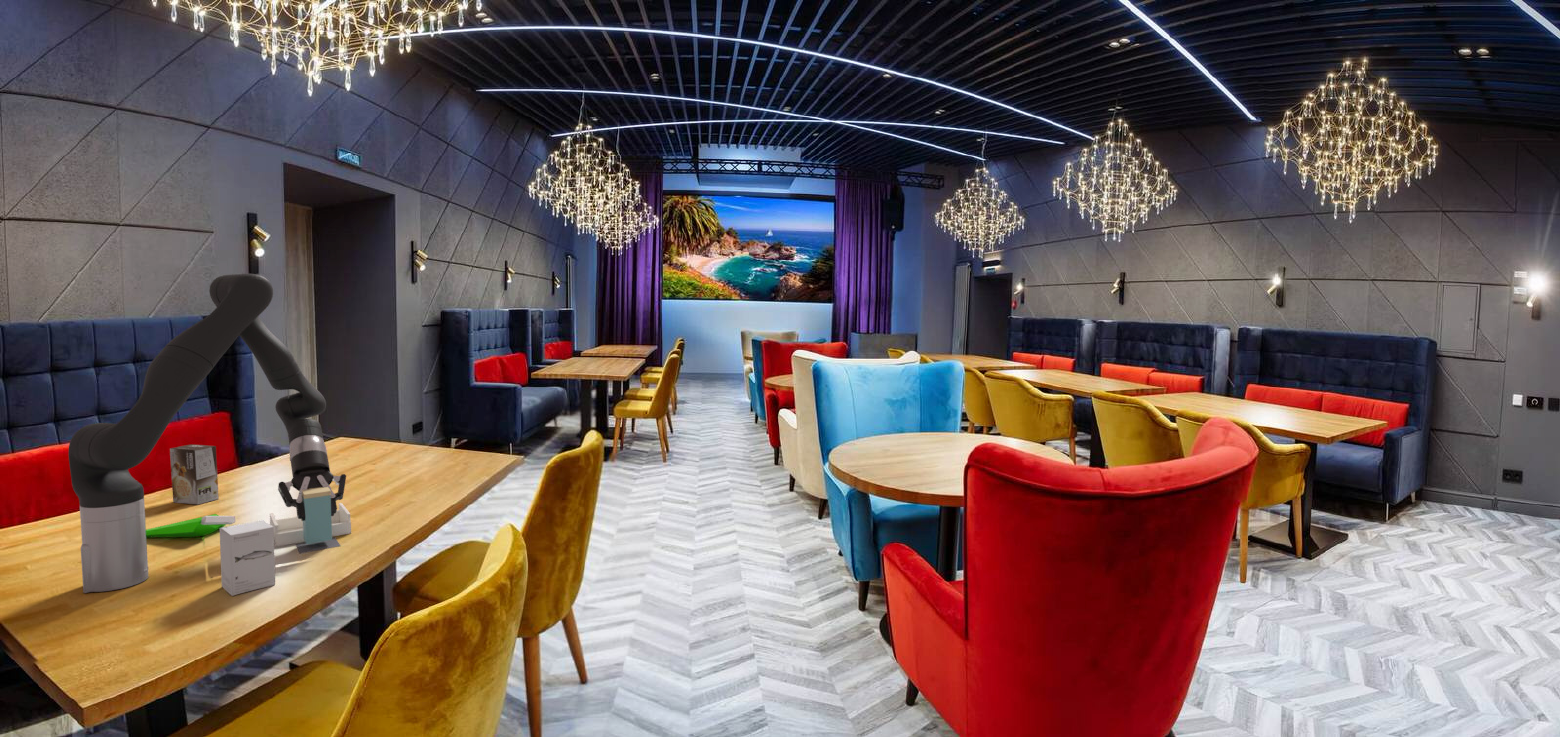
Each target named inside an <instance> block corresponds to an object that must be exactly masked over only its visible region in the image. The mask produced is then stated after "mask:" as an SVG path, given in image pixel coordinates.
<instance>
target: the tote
mask: <svg viewBox="0 0 1560 737" xmlns="http://www.w3.org/2000/svg"><path fill="white" fill-rule="evenodd" d="M269 524H270V525H271V526H273V527H274V546H275V547H281V546H286V545H292V544H298V543H304V542H305V540H304V536H303V521H301V519H298V517H297V516H292V517H291V516H290V517H285V518H278V519H276V517H275V515H274V513H273V512H272V513H271V512H270V513H269ZM331 524H332V537H337V536H344V535H350V534H352V522H351V513H350V511H349V510H348V509H347V507H346V506H345V505H344V504H343V503H342V502H339V503H338V509H337V511H336V513H334V516H331Z"/></svg>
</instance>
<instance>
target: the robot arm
mask: <svg viewBox="0 0 1560 737" xmlns="http://www.w3.org/2000/svg"><path fill="white" fill-rule="evenodd" d="M209 296H210V299H211V301H212V303H213V304H214V306H215V308H214V310H213V311H211V313H210V314H208V315H207V316H205V317H204V318H203V319H201V320H200V321H198V322H197V323H195V324H193V325H191V326H189V327H188V328H186V329H185V330H183V331H182V332H181V333H179V334H177V336H175V337H174V338H172V339H171V340H170V341H168V343H167V344H166V345H165V346H164V347H163V348H162V349H161V350H160V352H158V354H157V355H156V356H155V357H154V359H152V361H151V363H149V365H148V367H147V370H146V372H145V373H146V374H145V378H144V381H143V387H142V392H141V395H140V396H139V398H138V400H137V401H136V403H135V404H134V405H133V406H132V407H131V408H130V410H129V411H128V412H127V413H126V414H125V415H124V416H123V417H122V418H121V419H120V420H119V421H118V422H117V423H111V422H108V423H107V422H97V423H96V422H95V423H90V424H88V425H87V424H86V425H84V426H82V427H81V428H79V429H77V430H76V432H75V433H74V434H73V435H72V437H71V439H70V441H69V445H68V452H67V453H68V464H69V472H70V478H71V486H72V489H73V492H74V493H75V495H76V496H77V497H78V502H79V515H80V517H79V518H80V531H81V533H80V534H81V545H80V557H81V558H80V559H81V573H82V574H81V575H82V578H81V579H82V591H83V594H86V593H87V594H88V593H93V592H94V593H98V592H99V593H100V592H101V593H102V592H109V591H114V590H115V591H116V590H120V589H126V588H128V587H133V586H135V585H138V584H141V583H144V582H145V581H146V580H147V579H149V563H148V562H149V561H148V544H147V537H146V529H147V526H146V509H145V493H144V492H145V491H144V490H145V488H144V486H143V484H142V483H140V482H139V481H138V480H136V479H135V478H134V477H133V476H132V475H131V473H130V471H129V470H130V469H132V468H134V467H136V466H138V465H140V464H141V463H142V462H143V461H144V460H145V459H146V458H147V457H148V456H149V455H150V454H151V452H152V451H153V449H154V448H155V446H156V445H157V443H158V441H160V440H159V439H160V438H161V436H162V435H163V434H164V432H165V430H166V429H167V428H168V426H169V424H170V422H171V421H172V419H173V418H174V417H175V415H176V414H177V413H178V412H179V411H180V409H181V408H182V407H183V406H184V404H185V403H186V402H187V400H189V398H190V396H191V395H192V394H193V393H194V392H195V391H196V389H197V388H198V387H199V386H200V385H201V383H202V382H203V381H204V380H205V379H206V378H207V376H208V375H209V374H210V372H211V371H212V370H213V369H214V367H216V365H217V363H218V362H219V361H220V360H221V358H222V357H223V356H224V355H225V353H226V352H227V351H228V350H229V349H230V347H231V346H233V344H234V343H235V341H236V340H237V338H238V337H240V338H241V339H242V340H243V342H244V343H245V344H246V346H247V348H249V350H250V352H251V353H252V354H253V356H254V358H255V359H256V361H257V362H258V363H257V364H259V366H260V368H261V371H263V374H264V375H265V377H266V379H267V380H268V383H269V384H270V386H271V387H272V388H273V389H274V390H276V391H277V390H278V391H286V390H294V391H297V392H296V393H293V394H289V395H285V396H282V397H280V398H279V399H278V400H277V401H276V402H275V412H276V414H277V416H278V417H279V419H280V420H281V422H282V423H283V425H284V427H285V429H286V433H287V436H288V442H289V443H288V444H289V461H290V467H291V473H292V474H291V475H292V478H291V480H290V481H287V482H285V481H280V482H278V486H277V488H278V489H277V491H278V492H279V494H280V496H281V498H282V500H283V503H284V505H285V506H286V507H287V508H291V507H294V508H295V509H296V515H297V516H296V517H298V519H301V521H304V520H305V517H306V516H305V509H304V503H303V496H302V490H307V489H311V488H318V487H324V488H325V487H328V488H329V489H330V490H331V516H334V513H336V511H337V510H338V506H337V502H338V501H340V500H343V498H344V494H345V485H346V478H347V475H346V474H345V473H342V474H340V475H334V474H333V473H332V472H331V467H330V463H329V456H328V452H327V451H328V450H327V446H326V444H325V441H324V435H323V429H322V425H321V423H320V422H319V421H318V420H316V419H313V418H312V417H316V416H319V415H322V414H323V413H324V412H325V411H326V409H327V401H326V399H325V397H324V395H323V394H322V392H320V391H319V390H318V389H317V388H316V387H315V386H314V385H313V384H312V383H311V382H310V381H309V380H308V379H307V378H306V376H305V375H304V374H303V372H302V371H301V368H300V367H299V365H298V363H297V361H296V360H295V357H294V356H293V354H292V352H291V351H290V349H289V348H288V347H287V346H286V345H285V344H284V343H283V342H282V341H281V340H280V339H279V338H278V337H277V336H275V335H274V334H273V333H272V332H271V331H270V329H269V328H268V327H267V326H266V325H265V323H263V321H262V319H261V318H260V315H261V314H262V313H263V312H265V310H266V309H267V308H269V306H270V304H271V302H272V301H273V298H274V288H273V285H272V284H271V282H270V280H268V279H267V278H266V277H264V276H263V275H261V274H256V273H236V274H224V275H220V276H218V277H216V278H215V279H213V280H212V282H211V283H210V285H209ZM332 482H335V485H336V486H338V489H337V492H336V493H335V492H334V491H333V490H332V487H331V486H330V485H331V484H332ZM291 487H292V488H294V489H296V491H298V495H297V498H293V496H292V495H291V493H290V491H291Z"/></svg>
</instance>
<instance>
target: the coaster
mask: <svg viewBox="0 0 1560 737" xmlns="http://www.w3.org/2000/svg"><path fill="white" fill-rule="evenodd" d="M294 545H295V547H296V549H297V551H298V553H299V554H301V555H302V554H306V553H311V552H316V551H320V550H328V549H332V548H339V547H341V544H340V542H339V541H338V539H337V538H336V536H333V537H332V540H328V541H322V542H316V543H311V544H306V542H305V541H304V542H299V543H294Z"/></svg>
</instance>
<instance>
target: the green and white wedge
mask: <svg viewBox="0 0 1560 737" xmlns="http://www.w3.org/2000/svg"><path fill="white" fill-rule="evenodd" d="M234 523H236V515H235V516H233V515H219V514H217V513H214V514H213V513H212V514H209V515H203V516H200V517H196V518H191V519H187V520H182V521H177V522H174V523H169V524H166V525H160V526H156V527H155V526H154V527H152V528H148V529H147V528H146V538H188V537H189V538H192V537H193V538H196V537H195V536H206V535H210V534H212V533H214V532H215V531H217V530H220V528H223V527H226V525H233V524H234Z"/></svg>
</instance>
